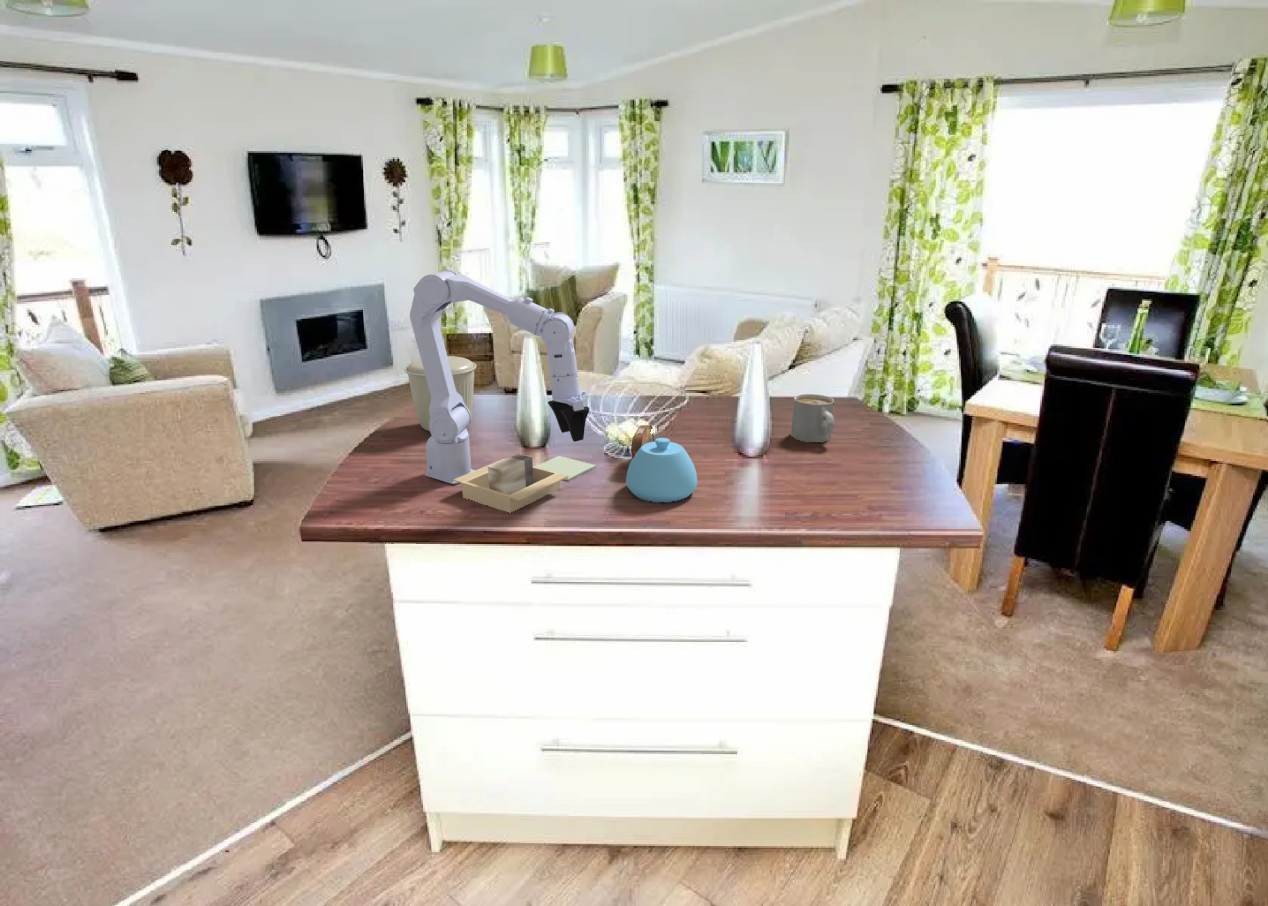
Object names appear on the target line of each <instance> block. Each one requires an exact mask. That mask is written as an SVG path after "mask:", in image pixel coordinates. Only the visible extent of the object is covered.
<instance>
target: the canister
mask: <svg viewBox="0 0 1268 906" xmlns="http://www.w3.org/2000/svg"><path fill="white" fill-rule="evenodd" d="M447 357H448V361H449V365H450V369H451V373H452V377H453V381H454V385H455V388H456V391H457V393H459V394H460V395H461V396H462V398H463V402H464V404H465V406H466V407H467V408H468V409H469V411H470V413H471V419H472V417H473V406H474V385H475V383H474V382H475V370H476V369H477V363H475V362H473V361H471V360H470V359H467V358H466V357H461V356H454V355H447ZM404 372H405V373H406V374H407V377H408V378H407V379H408V382H409V387H410V392H411V397H412V401H413V404H414V409H415V414H416V416H417V417H416V418H417V420H418V423H419V425H420V427H421V428H422V429H424V430H426V431H427V432H430V430H429V423H430V414H429V407H430V403H431V394H430V390H429V387H428V383H427V379H426V375H425V372H424V368H423V364H422V361H421V358H419V359H416V360H414V361H411V362H410V364H408V365H406V366H405V367H404Z"/></svg>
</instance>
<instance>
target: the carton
mask: <svg viewBox="0 0 1268 906" xmlns="http://www.w3.org/2000/svg"><path fill="white" fill-rule="evenodd" d="M505 459H506V458H502V459H499V460H498V461H494V462H492V463H490V464H488V465H485V466H482V467H481V468H478V469H476V470H475V469H474V470H475V471H473V472H470V473H468V474H466V475H463V476H461V477H458V478H456V479H453V481H455V482H458V483H457V484H461V491H462V498H463V499H465V498H466V499H465V500H468V499H470V500H469V501H471V500H473V501H472V502H474V501H475V502H474V503H477V502H478V503H477V504H480V505H484V506H486V505H488V506H487V507H490V508H493V509H496V510H499V511H502V510H503V512H505V511H506V513H508V512H509V513H508V514H512V513H514V512H516V511H517V510H520V509H521V508H524V507H526V506H528V505H530V504H532V503H534V502H536V501H538V500H540V499H541V498H544V497H546V496H548V495H550V494H552V493H554V492H556V491H558V490H560V489H561V485H560V482H561V481H565V480H564V479H566V478H568V477H569V476H568V475H564V474H560V473H556V472H553V471H549V470H545V469H542V468H538V467H535V466H534V465H533V484H532V485H530V486H528V487H526V488H524V489H521V490H519V491H517V492H515V493H513V494H511V495H507V494H504V493H501V492H497V491H494V490H491V489H489V477H488V466H490V465H493V464H495V463H498V462H500V461H502V460H505ZM547 494H548V495H547ZM545 495H546V496H545ZM537 499H538V500H537ZM525 505H526V506H525ZM515 510H516V511H515ZM513 511H514V512H513ZM511 512H512V513H511Z"/></svg>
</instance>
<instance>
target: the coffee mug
mask: <svg viewBox="0 0 1268 906" xmlns="http://www.w3.org/2000/svg"><path fill="white" fill-rule="evenodd" d="M834 405H835V400H834V398H832V397H830V396H827V395H823V394H817V393H804V394H799V395H796V396H794V397H793V406H792V418H791V420H792V421H791V433H790V437H791V438H792V437H794V438H795V439H794V438H793V439H794V440H796V439H797V440H796V441H799V440H800V442H803V441H804V442H803V443H809V442H821V443H826V442H828V440H829V441H830V440H831V437H832V436H831V435H832V434H833V431H834V428H835V418H834V408H835V406H834ZM825 441H826V442H825Z"/></svg>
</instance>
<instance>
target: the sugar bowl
mask: <svg viewBox="0 0 1268 906" xmlns="http://www.w3.org/2000/svg"><path fill="white" fill-rule="evenodd" d="M654 439H655V438H654ZM625 477H626V478H625V484H626V487H627V488H628V489H629V491H630V492H631V494H633V495H634V496H635V497H637V498H638V499H640V500H643V501H646V502H650V501H652V502H651V503H660V502H665V503H672V501H675V502H679V501H682V500H684V498H685V499H686V498H688V497H690V495H691V494H692V493H693V492H694V491H695V490H696V488H697V486H698V475H697V470H696V468H695V465H694V463H693V461H692V459H691V457H690V455H689V454H688V452H687V451H686V450H685V448H684V447H683V446H682V445H681V444H679V443H677V442H672V441H671V439H669V438H666V437H659V438H656V439H655V440H654V442H650V443H646V444H644V445H643V446H642V447H641V448H640V449H639V450H638V452H637V453H636V455H635V456H634V458H633V459H632V458H631V461H630V464H629V465H628V468H627V472H626V475H625ZM681 499H682V500H681ZM678 500H679V501H678Z"/></svg>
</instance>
